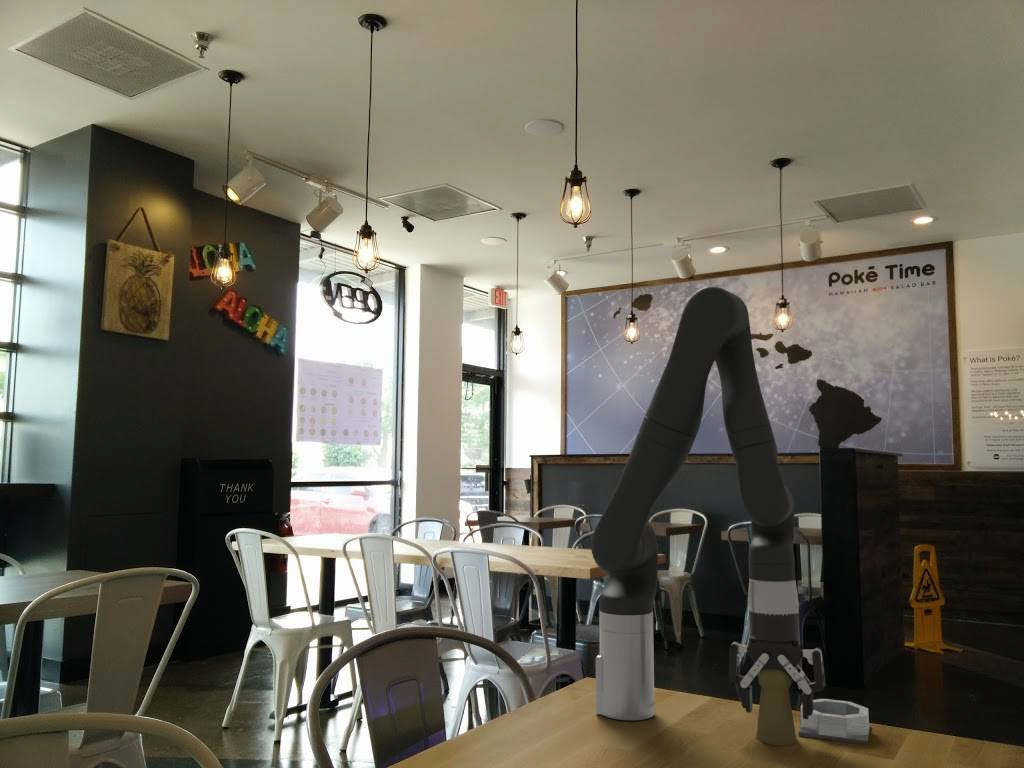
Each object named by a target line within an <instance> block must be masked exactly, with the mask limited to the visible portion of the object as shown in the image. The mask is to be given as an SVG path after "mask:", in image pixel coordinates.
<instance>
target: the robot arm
mask: <svg viewBox="0 0 1024 768" xmlns="http://www.w3.org/2000/svg"><path fill="white" fill-rule="evenodd" d="M750 323H751V322H750V315H749V311H748V307H747V305H746V303H745V302H744V301H743V299H742V298H741V297H739V296H738V295H736V294H735V293H733V292H730V291H728V290H727V289H725V288H723V287H720V286H710V285H709V286H706V287H703V288H700V289H698V290H696V291H695V292H694V293H692V295H691V296H690V297H689V299H688V300H687V302H686V303H685V305H684V308H683V311H682V313H681V317H680V319H679V323H678V326H677V329H676V330H677V331H676V335H675V338H674V341H673V345H672V348H671V351H670V355H669V357H668V360H667V363H666V364H665V367H664V370H663V372H662V375H661V376H660V379H659V382H658V383H657V386H656V388H655V391H654V393H653V396H652V398H651V401H650V403H649V406H648V408H647V410H646V412H645V414H644V417H643V419H642V422H641V424H640V427H639V429H638V431H637V434H636V437H635V441H634V442H633V446H632V447H631V451H630V453H629V456H628V458H627V461H626V463H625V465H624V468H623V471H622V473H621V476H620V479H619V480H618V481H619V482H618V483H617V486H616V488H615V491H614V492H613V494H612V496H611V498H610V500H609V502H608V503H607V506H606V508H605V510H604V512H603V513H602V515H601V517H600V518H599V521H598V522H597V524H596V527H595V528H594V530H593V534H592V537H591V543H590V548H591V550H590V551H591V554H592V558H593V561H594V562H595V564H596V565H597V567H599V568H600V569H601V570H603V571H605V572H608V573H609V578H608V581H607V583H606V586H605V587H604V589H602V591H601V593H600V594H599V598H598V607H599V609H598V611H599V615H598V616H599V623H598V624H599V654H598V655H597V656H596V657H595V714H596V715H601V716H604V717H606V718H609V719H614V720H620V721H642V720H648V719H650V718H653V716H654V715H655V670H654V669H655V668H654V667H655V666H654V665H655V661H654V660H655V659H654V656H655V654H654V651H655V650H654V600H655V598H656V595H657V590H658V573H659V572H658V569H659V565H658V563H659V550H658V549H659V546H658V540H657V536H656V532H655V530H654V528H653V526H652V525H651V523H649V522H648V519H649V517H650V514H651V512H652V510H653V508H654V507H655V504H656V502H657V500H658V499H659V498H660V496H661V495H662V493H664V491H665V489H666V488H667V487H668V486H669V485H670V484H671V482H672V481H673V479H675V477H676V476H677V475H678V473H679V472H680V471H681V469H682V468H683V467H684V464H685V462H686V461H687V459H688V456H689V455H690V453H691V450H692V447H693V445H694V443H695V440H696V438H697V435H698V433H699V430H700V427H701V423H702V419H703V415H704V414H703V413H704V406H705V397H706V396H705V395H706V390H707V389H706V388H707V384H708V383H707V382H708V379H709V375H710V373H711V370H712V368H713V365H714V363H715V364H716V367H717V371H718V375H719V380H720V385H721V388H720V389H721V403H722V407H721V408H722V414H723V422H724V426H725V430H726V436H727V439H728V442H729V446H730V449H731V454H732V457H733V458H734V463H735V466H736V472H737V473H736V475H737V479H738V487H739V493H740V499H741V501H742V506H743V509H744V510H745V513H746V515H747V516H748V518H749V519H750V521H751V524H750V525H751V542H750V546H749V547H748V577H749V583H748V592H747V595H748V597H747V598H748V601H747V602H748V624H749V625H748V626H749V641H748V642H749V643H748V644H743V643H739V642H738V641H733V642H732V643H731V644H730V645H729V648H728V649H729V651H728V652H729V654H728V680H729V681H728V682H730V683H732V684H736V685H737V686H739V688H740V695H741V696H740V699H741V700H740V701H741V707H742V709H745V712H746V713H748V714H749V713H750V714H751V713H752V712H753V707H754V706H753V686H752V685H751V683H752V682H753V680H754V679H755V677H757V674H758V672H759V671H760V670H763V669H777V670H781V671H783V672H785V673H786V674H787V675H789V674H790V676H791V677H792V681H794V682H795V684H797V685H798V686H799V688H800V689H801V690H802V691H803V692H802V694H801V701H802V703H801V705H802V707H803V719H808V718H809V716H811V715H812V713H813V700H814V693H817V692H823V691H824V688H825V687H826V679H825V677H826V676H825V667H824V659H823V652H822V649H821V648H819V647H816V648H814V649H803V647H802V646H801V640H800V639H801V638H800V617H799V616H800V614H799V612H800V611H799V610H800V603H799V602H800V601H799V595H798V594H799V593H798V589H797V588H798V587H797V582H796V580H797V579H796V561H795V552H794V539H795V538H794V536H795V499H794V495H793V494H792V492H791V489H789V488H788V487H787V486H786V485H785V483H784V479H783V476H782V472H781V470H780V466H779V463H778V459H779V458H778V456H779V455H778V454H779V452H778V447H777V442H776V439H775V435H774V432H773V428H772V425H771V422H770V421H771V420H770V418H769V415H768V411H767V408H766V405H765V401H764V397H763V394H762V390H761V386H760V382H759V377H758V372H757V369H756V362H755V357H754V356H755V355H754V350H753V342H752V332H751V324H750ZM745 653H747V654H748V657H750V659H751V660H752V662H753V663H754V664H753V665H752V667H750V669H749V671H748V672H747V673H746V674H745V675H742V674H740V659H743V657H744V655H745ZM803 657H804V658H806V659H807V662H808V664H810V665H812V667H813V678H814V681H813V682H811V681H810V680H809V678H808V676H807V675H806V674H805V672H804V670H803V669H802V668H801V667H800V665H799V663H800V662H801V660H803Z"/></svg>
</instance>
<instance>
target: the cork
mask: <svg viewBox="0 0 1024 768" xmlns="http://www.w3.org/2000/svg"><path fill="white" fill-rule="evenodd" d="M756 677H757V683H758V685H759V686H760V687H761V688H760V696H759V697H760V698H759V705H758V707H759V708H758V717H757V726H756V735H755V737H756V740H758V741H759V742H761V743H763V744H767V745H771V746H791V745H794V744H796V743H797V736H796V735H797V734H796V729H795V727H796V726H795V721H794V716H793V710H792V703H791V697H790V688H791V686H792V682H793V678H792V677H791V676H790V674H789V675H787V674H786V673H785V672H783V671H781V670H777V669H763V670H760V671H759V672H758V674H757V675H756Z"/></svg>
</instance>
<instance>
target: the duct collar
mask: <svg viewBox="0 0 1024 768" xmlns="http://www.w3.org/2000/svg"><path fill="white" fill-rule="evenodd" d="M869 719H870V718H869V708H868V707H865V706H863V705H860V704H857V703H854V702H852V701H847V700H837V699H836V700H835V699H830V698H817V699H813V713H812V715H811V716H809V718H808V719H803V707H802V704H801V705H800V727H799V730H798V737H804V738H811V739H819V740H826V741H835V742H841V743H843V742H844V743H851V744H856V745H857V744H858V745H865V746H868V745H869V744H868V743H869V737H870V729H871V723H870V721H869ZM869 724H870V725H869Z"/></svg>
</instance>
